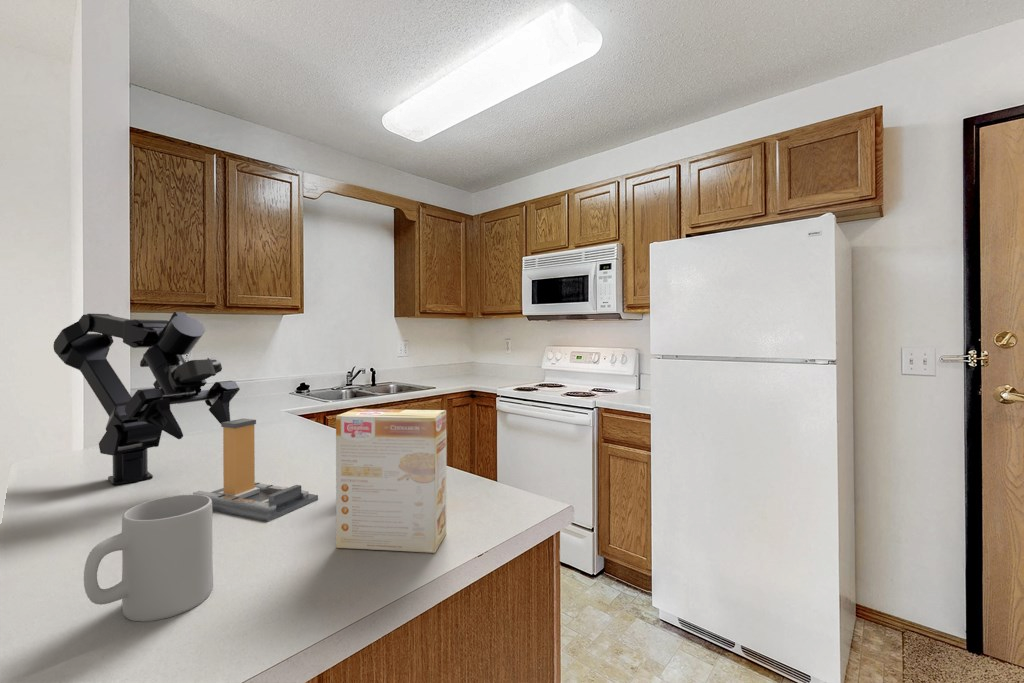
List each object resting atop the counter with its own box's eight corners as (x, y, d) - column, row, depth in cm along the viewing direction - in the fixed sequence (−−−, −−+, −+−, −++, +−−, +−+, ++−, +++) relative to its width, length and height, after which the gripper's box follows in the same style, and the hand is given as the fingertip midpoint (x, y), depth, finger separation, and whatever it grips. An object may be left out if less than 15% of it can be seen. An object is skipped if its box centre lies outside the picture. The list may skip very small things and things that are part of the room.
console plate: (185, 504, 84) (185, 487, 84) (240, 486, 94) (240, 470, 94) (268, 521, 76) (268, 502, 76) (318, 499, 87) (318, 482, 87)
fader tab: (218, 497, 85) (217, 422, 85) (241, 489, 90) (241, 418, 89) (236, 500, 83) (236, 424, 83) (259, 492, 88) (259, 419, 88)
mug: (188, 574, 60) (188, 489, 60) (228, 591, 56) (228, 501, 56) (66, 626, 49) (65, 523, 49) (105, 651, 45) (104, 540, 45)
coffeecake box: (447, 533, 73) (447, 409, 72) (435, 554, 65) (436, 417, 65) (355, 528, 74) (355, 407, 74) (334, 549, 67) (334, 414, 67)
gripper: (136, 344, 81) (175, 415, 78) (235, 342, 99) (270, 400, 95) (108, 384, 85) (144, 453, 81) (209, 375, 102) (242, 432, 98)
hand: (206, 432), depth 89 cm, fingers open, 9 cm apart
